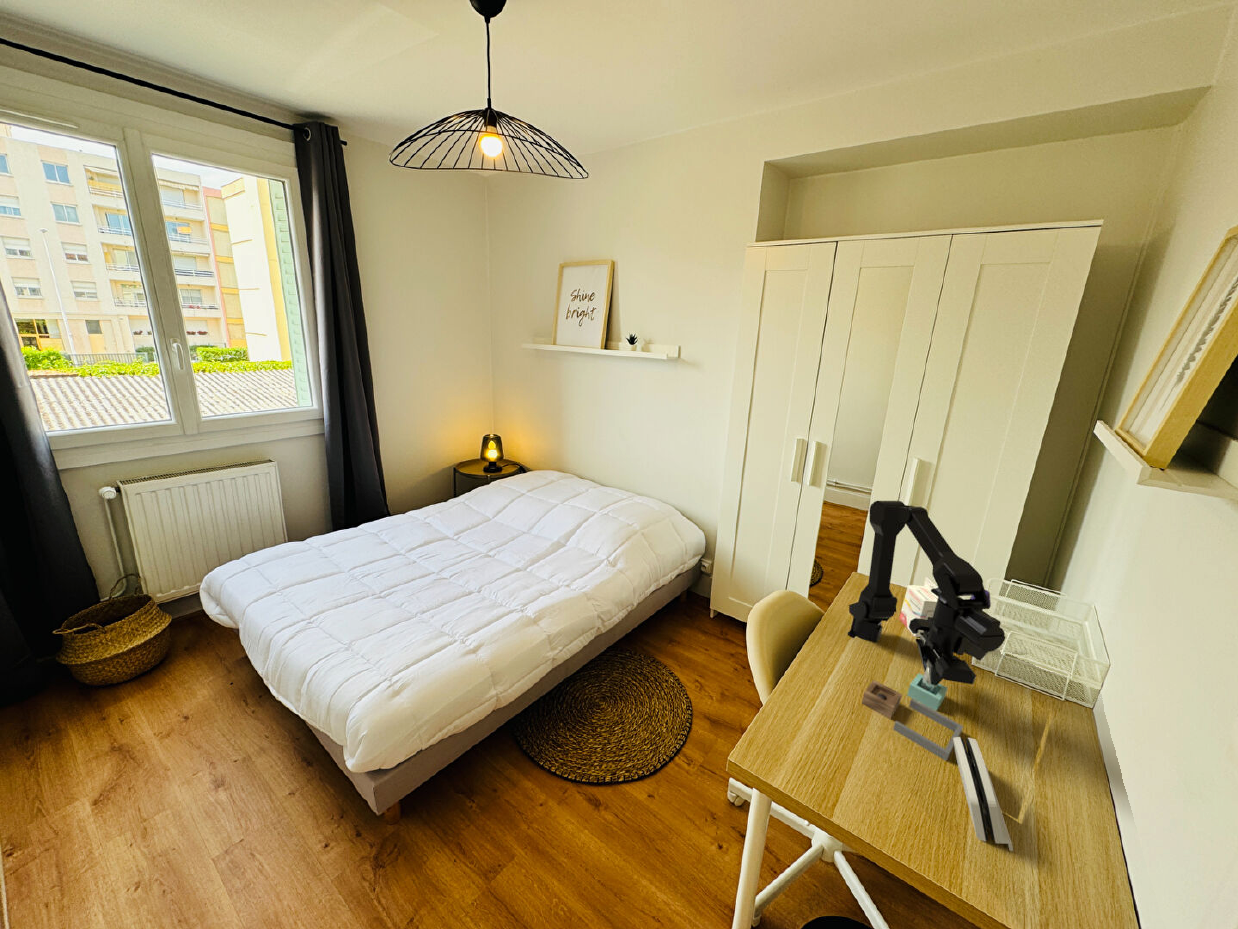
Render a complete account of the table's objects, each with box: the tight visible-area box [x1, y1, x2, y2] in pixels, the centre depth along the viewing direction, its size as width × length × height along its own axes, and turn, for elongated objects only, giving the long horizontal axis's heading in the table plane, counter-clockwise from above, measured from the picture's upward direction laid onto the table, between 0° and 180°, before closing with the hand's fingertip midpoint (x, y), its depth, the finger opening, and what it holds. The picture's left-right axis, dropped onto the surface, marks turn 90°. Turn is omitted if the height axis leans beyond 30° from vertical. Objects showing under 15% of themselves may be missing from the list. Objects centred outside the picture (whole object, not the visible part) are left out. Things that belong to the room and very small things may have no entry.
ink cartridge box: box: [898, 576, 938, 638], centre depth 135 cm, size 9×5×15 cm, turn 179°
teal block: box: [906, 672, 948, 712], centre depth 110 cm, size 6×6×4 cm
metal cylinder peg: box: [921, 660, 937, 694], centre depth 109 cm, size 3×3×9 cm
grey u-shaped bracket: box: [892, 698, 964, 762], centre depth 101 cm, size 10×11×2 cm
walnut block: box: [861, 679, 903, 720], centre depth 107 cm, size 6×6×4 cm
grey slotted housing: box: [953, 736, 1014, 852], centre depth 86 cm, size 17×5×10 cm, turn 156°
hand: (930, 679), depth 109 cm, fingers closed on metal cylinder peg, 3 cm apart
